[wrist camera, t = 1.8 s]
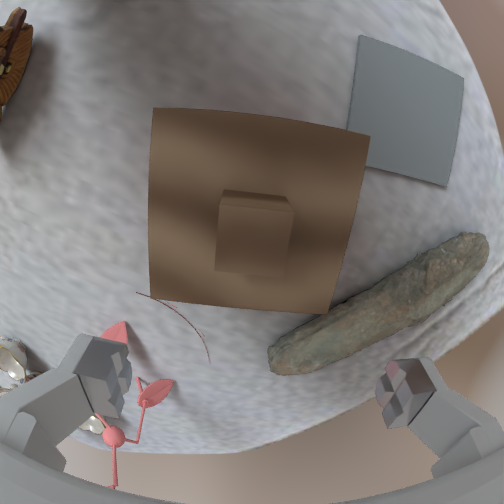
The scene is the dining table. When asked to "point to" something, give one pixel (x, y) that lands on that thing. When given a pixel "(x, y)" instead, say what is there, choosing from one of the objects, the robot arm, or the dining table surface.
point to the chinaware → (32, 375)
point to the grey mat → (405, 111)
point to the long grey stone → (382, 307)
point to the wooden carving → (13, 53)
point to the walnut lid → (250, 209)
